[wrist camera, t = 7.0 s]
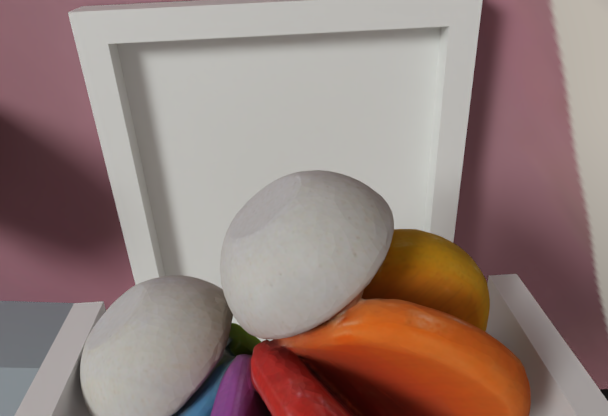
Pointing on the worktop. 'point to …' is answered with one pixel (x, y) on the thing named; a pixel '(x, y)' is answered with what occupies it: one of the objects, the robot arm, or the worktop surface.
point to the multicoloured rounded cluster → (309, 321)
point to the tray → (273, 111)
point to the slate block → (25, 346)
